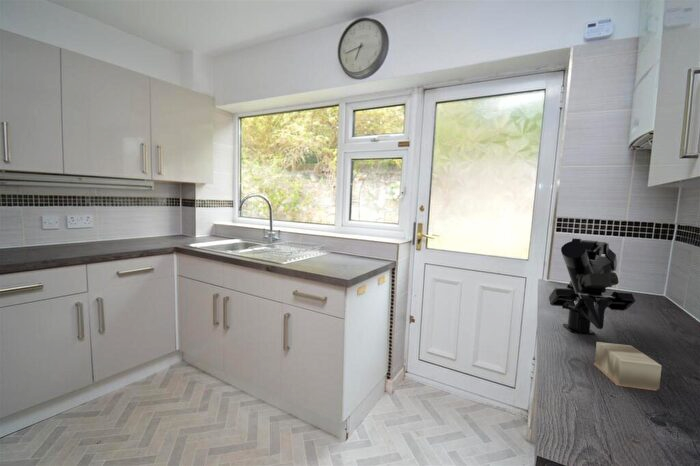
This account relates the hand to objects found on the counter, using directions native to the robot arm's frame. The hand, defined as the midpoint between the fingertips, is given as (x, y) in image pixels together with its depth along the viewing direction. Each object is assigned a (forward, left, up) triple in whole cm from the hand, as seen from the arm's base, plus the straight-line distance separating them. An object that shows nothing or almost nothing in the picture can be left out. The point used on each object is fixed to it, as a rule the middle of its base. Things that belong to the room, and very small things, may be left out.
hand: (600, 328), depth 82 cm
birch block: (+7, 0, -4) cm, 8 cm away
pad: (+13, -1, -6) cm, 14 cm away
